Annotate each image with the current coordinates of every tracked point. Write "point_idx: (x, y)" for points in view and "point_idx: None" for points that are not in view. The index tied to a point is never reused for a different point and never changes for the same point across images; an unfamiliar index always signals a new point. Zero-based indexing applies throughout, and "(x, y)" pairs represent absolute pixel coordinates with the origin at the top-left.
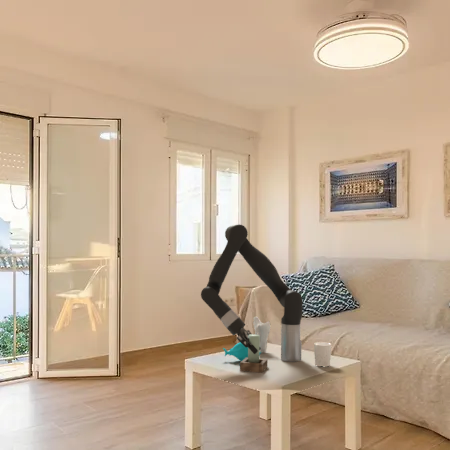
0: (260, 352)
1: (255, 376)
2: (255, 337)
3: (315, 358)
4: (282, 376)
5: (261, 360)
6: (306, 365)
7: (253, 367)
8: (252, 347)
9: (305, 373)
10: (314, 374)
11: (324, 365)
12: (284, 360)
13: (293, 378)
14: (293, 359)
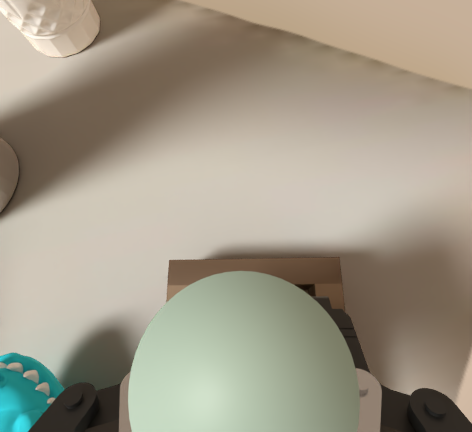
0: (7, 355)
1: (437, 285)
2: (335, 327)
3: (61, 22)
4: (353, 145)
5: None
6: (82, 89)
7: None
8: (360, 355)
9: (243, 64)
10: (245, 30)
11: (96, 11)
12: (3, 206)
13: (363, 91)
14: (8, 152)
